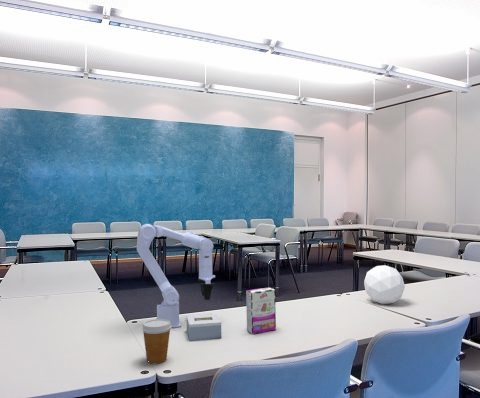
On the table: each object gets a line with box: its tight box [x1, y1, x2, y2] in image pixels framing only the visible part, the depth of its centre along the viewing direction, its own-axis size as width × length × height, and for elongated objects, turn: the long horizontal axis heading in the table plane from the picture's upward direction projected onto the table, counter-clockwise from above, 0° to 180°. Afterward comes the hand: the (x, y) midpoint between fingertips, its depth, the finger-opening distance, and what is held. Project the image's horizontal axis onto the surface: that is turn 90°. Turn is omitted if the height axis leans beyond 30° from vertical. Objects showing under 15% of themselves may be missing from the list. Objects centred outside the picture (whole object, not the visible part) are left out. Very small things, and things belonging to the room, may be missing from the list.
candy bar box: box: [245, 287, 277, 335], centre depth 154 cm, size 11×5×16 cm, turn 117°
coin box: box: [186, 313, 222, 342], centre depth 149 cm, size 12×12×6 cm
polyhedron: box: [363, 264, 406, 305], centre depth 196 cm, size 19×20×20 cm
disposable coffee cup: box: [141, 318, 173, 364], centre depth 125 cm, size 10×10×12 cm
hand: (206, 297), depth 166 cm, fingers open, 7 cm apart
